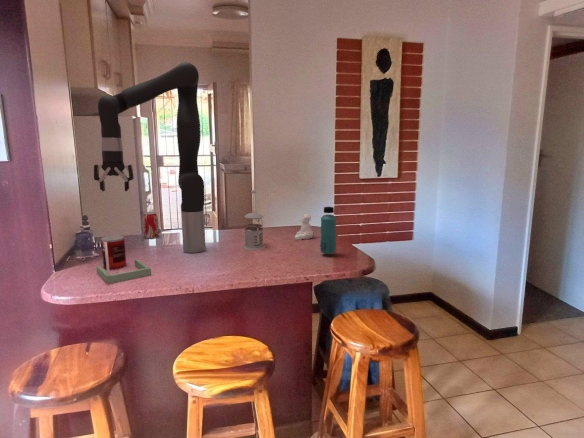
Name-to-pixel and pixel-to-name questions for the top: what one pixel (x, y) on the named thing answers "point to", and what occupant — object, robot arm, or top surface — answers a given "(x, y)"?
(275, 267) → the top surface
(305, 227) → the white figurine
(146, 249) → the top surface
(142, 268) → the holder tray
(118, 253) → the canned food
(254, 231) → the french press
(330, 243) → the beverage bottle
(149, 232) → the soda can
